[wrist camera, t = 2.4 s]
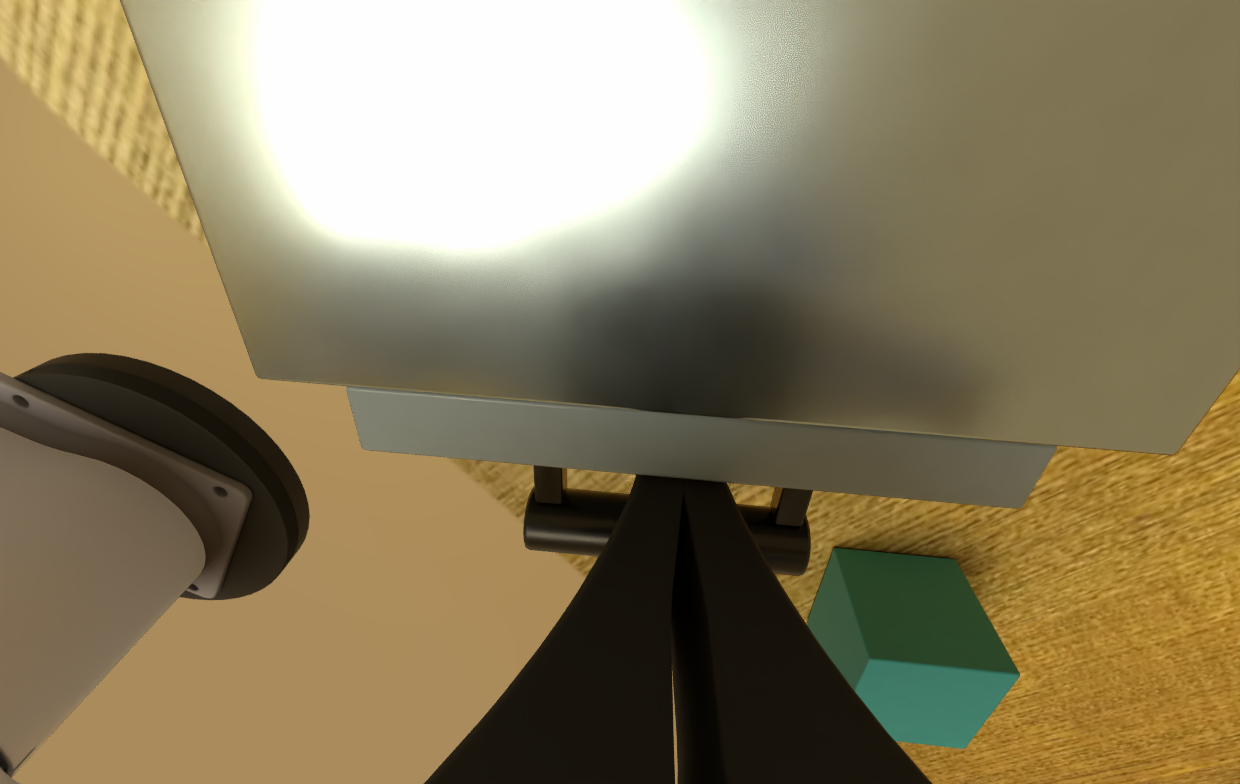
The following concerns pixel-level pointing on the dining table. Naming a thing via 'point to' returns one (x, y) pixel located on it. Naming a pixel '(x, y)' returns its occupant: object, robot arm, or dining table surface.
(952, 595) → the teal green cube
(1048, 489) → the dining table surface
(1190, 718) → the dining table surface
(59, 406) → the robot arm
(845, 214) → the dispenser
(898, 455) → the grey drawer
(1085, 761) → the dining table surface
